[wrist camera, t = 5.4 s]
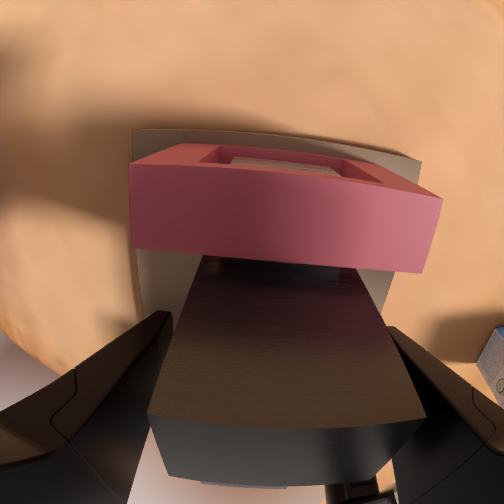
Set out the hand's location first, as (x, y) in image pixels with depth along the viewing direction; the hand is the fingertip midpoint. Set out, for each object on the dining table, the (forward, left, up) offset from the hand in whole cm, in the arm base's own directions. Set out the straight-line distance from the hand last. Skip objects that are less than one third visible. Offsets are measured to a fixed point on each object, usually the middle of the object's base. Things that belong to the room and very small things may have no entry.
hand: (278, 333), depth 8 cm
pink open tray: (+3, 0, -7) cm, 8 cm away
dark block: (-3, 0, -6) cm, 7 cm away
